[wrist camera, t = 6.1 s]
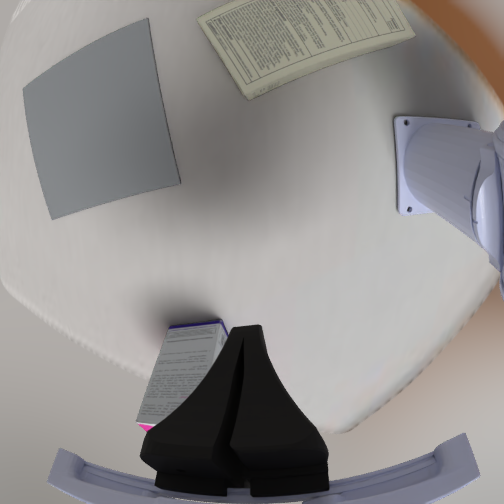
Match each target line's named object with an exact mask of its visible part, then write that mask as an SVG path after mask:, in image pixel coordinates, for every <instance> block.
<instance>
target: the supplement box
mask: <svg viewBox="0 0 504 504" xmlns="http://www.w3.org/2000/svg"><path fill="white" fill-rule="evenodd" d="M227 338H228V333H227V331H226V329H225V327H224V324H223V322H222V320H213V321H206V322H198V323H191V324H182V325H174V326H170V327H169V329H168V332H167V334H166V337H165V340H164V342H163V345H162V348H161V350H160V353H159V356H158V358H157V361H156V364H155V367H154V370H153V372H152V375H151V378H150V381H149V384H148V386H147V390H146V392H145V395H144V398H143V401H142V404H141V407H140V410H139V414H138V416H137V419H136V423H137V424H139V425H140V426H141V427H142V428H143V429H144V430H145V431H148V430H149V429H151V428H152V427H154V426H155V425H156V424H158V423H159V422H161V421H162V420H163V419H165V418H166V417H167V416H168V415H170V414H171V413H172V412H173V411H174V410H175V409H176V408H177V407H179V406H180V405H181V404H182V403H183V402H184V401H185V400H186V399H187V398H188V396H189V395H190V394H191V393H192V392H193V391H194V390H195V389H196V387H197V386H198V385H199V384H200V382H201V381H202V380H203V378H204V377H205V376H206V374H207V373H208V371H209V370H210V368H211V367H212V365H213V363H214V362H215V360H216V358H217V357H218V355H219V353H220V351H221V350H222V348H223V346H224V344H225V342H226V340H227Z"/></svg>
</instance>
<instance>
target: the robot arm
mask: <svg viewBox="0 0 504 504" xmlns="http://www.w3.org/2000/svg"><path fill="white" fill-rule="evenodd" d="M405 120H406V121H407V125H406V126H405V124H404V121H405ZM468 125H469V128H468ZM394 129H395V140H396V155H397V178H398V212H399V214H401V215H402V216H407V215H415V214H423V213H431V212H435V213H436V214H438V215H439V216H440V217H442V218H443V219H445V220H446V221H448V222H449V223H450V224H452V225H453V226H455V227H456V228H457V229H459V230H460V231H461V232H463V233H464V234H465V235H467V236H468V237H469V238H471V239H472V240H473V241H474V242H476V243H477V244H478V245H479V246H481V247H482V248H483V249H484V250H485V251H486V252H487V253H488V255H489V262H490V263H491V264H492V265H493V266H494V267H495V268H496V269H497V270H498V271H499V272H501V275H500V291H501V296H502V298H503V301H504V121H503V122H501V124H500V125H499V127H498V128H497V129H496V130H495V131H494V133H493V132H489V131H484V130H480V125H479V124H478V122H474V121H466V120H457V119H446V118H432V117H411V116H397V117H396V118H395V119H394ZM408 207H410V210H409V211H407V208H408ZM328 455H329V453H328V449H327V446H326V444H325V442H324V440H323V439H322V437H321V435H320V434H319V432H318V430H317V428H316V427H315V426H314V425H313V424H312V423H311V422H310V420H309V419H308V418H307V417H306V416H305V415H304V414H303V412H302V411H301V410H300V409H299V408H298V406H297V405H296V403H295V402H294V401H293V399H292V398H291V397H290V395H289V394H288V392H287V391H286V389H285V388H284V386H283V384H282V383H281V381H280V379H279V377H278V376H277V374H276V372H275V370H274V368H273V366H272V363H271V361H270V359H269V356H268V354H267V349H266V344H265V339H264V335H263V330H262V326H261V325H250V326H240V327H233V328H232V329H231V331H230V334H229V336H228V338H227V340H226V342H225V344H224V346H223V348H222V350H221V351H220V353H219V355H218V357H217V358H216V360H215V362H214V363H213V365H212V367H211V368H210V370H209V371H208V373H207V374H206V376H205V377H204V378H203V380H202V381H201V382H200V384H199V385H198V386H197V387H196V389H195V390H194V391H193V392H192V393H191V394H190V395H189V396H188V398H187V399H186V400H185V401H184V402H183V403H182V404H181V405H180V406H179V407H177V408H176V409H175V410H174V411H173V412H172V413H171V414H170V415H168V416H167V417H166V418H165V419H163V420H162V421H161V422H159V423H158V424H156V425H155V426H154V427H152V428H151V429H149V430H148V431H147V434H146V436H145V438H144V441H143V445H142V449H141V453H140V458H141V459H142V460H143V461H144V462H145V463H146V464H148V465H149V466H150V467H152V468H153V469H155V470H156V471H157V475H156V479H155V480H153V479H148V478H143V477H139V476H135V475H130V474H126V473H123V472H119V471H115V470H112V469H108V468H104V467H101V466H98V465H95V464H92V463H89V462H86V461H84V459H82V458H81V457H79V456H78V455H76V454H74V453H72V452H69V451H67V450H64V449H62V448H59V451H58V453H57V455H56V458H55V461H54V463H53V466H52V469H51V471H50V475H49V477H48V480H47V483H48V484H50V485H52V486H54V487H55V488H57V489H59V490H61V491H62V492H64V493H66V494H68V495H71V496H72V497H74V498H76V499H78V500H80V501H83V502H85V503H87V504H211V503H201V502H192V501H184V500H177V499H175V498H180V499H187V500H194V501H204V502H215V503H232V504H269V503H285V502H286V503H287V502H298V501H303V502H302V504H431V503H433V502H435V501H438V500H440V499H442V498H444V497H446V496H448V495H450V494H452V493H454V492H456V491H458V490H459V489H461V488H463V487H465V486H466V485H468V484H470V483H471V482H473V481H474V480H476V479H478V478H479V477H480V472H479V469H478V466H477V463H476V460H475V457H474V454H473V452H472V449H471V446H470V444H469V441H468V438H467V436H466V433H462V434H460V435H458V436H456V437H454V438H452V439H450V440H447V441H445V442H443V443H442V444H440V445H438V446H437V447H436V448H435V450H434V451H433V452H430V453H428V454H425V455H423V456H421V457H418V458H415V459H412V460H409V461H407V462H404V463H401V464H398V465H395V466H392V467H389V468H385V469H381V470H378V471H374V472H370V473H366V474H363V475H358V476H354V477H349V478H345V479H340V480H334V481H329V477H328V464H327V461H328ZM167 496H168V497H167ZM171 497H173V498H171Z"/></svg>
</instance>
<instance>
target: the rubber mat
mask: <svg viewBox="0 0 504 504" xmlns="http://www.w3.org/2000/svg"><path fill="white" fill-rule="evenodd" d="M23 97H24V105H25V113H26V120H27V126H28V132H29V137H30V143H31V147H32V152H33V157H34V161H35V165H36V169H37V173H38V177H39V180H40V184H41V187H42V191H43V194H44V197H45V201H46V204H47V207H48V210H49V213H50V216H51V219H52V220H54V219H57V218H60V217H63V216H66V215H69V214H72V213H75V212H78V211H81V210H84V209H88V208H91V207H94V206H97V205H101V204H104V203H108V202H111V201H115V200H118V199H122V198H125V197H129V196H133V195H136V194H140V193H144V192H148V191H152V190H156V189H160V188H164V187H168V186H173V185H177V184H181V182H180V177H179V173H178V169H177V165H176V161H175V157H174V152H173V148H172V143H171V139H170V134H169V130H168V125H167V121H166V116H165V111H164V106H163V101H162V96H161V91H160V86H159V80H158V75H157V69H156V64H155V58H154V52H153V46H152V39H151V33H150V26H149V19H148V18H146V19H143V20H140V21H138V22H135V23H133V24H131V25H128V26H126V27H124V28H121V29H119V30H117V31H115V32H113V33H111V34H109V35H106V36H104V37H102V38H100V39H99V40H97V41H95V42H93V43H91V44H89V45H87V46H85V47H84V48H82V49H80V50H78V51H77V52H75V53H73V54H72V55H70V56H68V57H67V58H65V59H63V60H62V61H60V62H59V63H57V64H56V65H54V66H53V67H51V68H50V69H48V70H47V71H45V72H44V73H43V74H41V75H40V76H38V77H37V78H36V79H34V80H33V81H32V82H30V83H29V84H28V85H26V86H25V87H24V88H23Z"/></svg>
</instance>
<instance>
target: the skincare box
mask: <svg viewBox="0 0 504 504" xmlns="http://www.w3.org/2000/svg"><path fill="white" fill-rule="evenodd" d="M196 20H197V22H198V24H199V26H200V27H201V29H202V30H203V32H204V34H205V35H206V37H207V38H208V40H209V41H210V43H211V44H212V46H213V47H214V49H215V50H216V52H217V54H218V55H219V57H220V58H221V60H222V62H223V63H224V65H225V66H226V68H227V70H228V71H229V73H230V75H231V76H232V78H233V79H234V81H235V83H236V84H237V86H238V88H239V89H240V91H241V93H242V95H243V96H244V98H245V99H247V100H248V101H249V100H252V99H253V98H256V97H258V96H260V95H262V94H264V93H266V92H268V91H270V90H272V89H275V88H277V87H279V86H281V85H283V84H286V83H288V82H290V81H293V80H295V79H297V78H300V77H302V76H305V75H307V74H310V73H312V72H315V71H317V70H320V69H323V68H325V67H328V66H331V65H333V64H336V63H339V62H342V61H345V60H348V59H351V58H354V57H357V56H360V55H363V54H367V53H370V52H373V51H377V50H380V49H384V48H388V47H391V46H394V45H397V44H399V43H402V42H404V41H406V40H409V39H411V38H413V37H415V36H416V35H415V33H414V32H413V30H412V28H411V26H410V25H409V23H408V21H407V19H406V18H405V16H404V14H403V13H402V11H401V9H400V8H399V6H398V4H397V3H396V1H395V0H234V1H231V2H229V3H227V4H225V5H223V6H220V7H218V8H216V9H214V10H212V11H210V12H208V13H206V14H204V15H202V16H200V17H198V18H197V19H196Z"/></svg>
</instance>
